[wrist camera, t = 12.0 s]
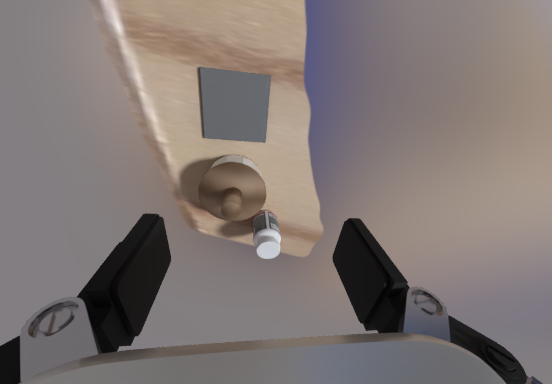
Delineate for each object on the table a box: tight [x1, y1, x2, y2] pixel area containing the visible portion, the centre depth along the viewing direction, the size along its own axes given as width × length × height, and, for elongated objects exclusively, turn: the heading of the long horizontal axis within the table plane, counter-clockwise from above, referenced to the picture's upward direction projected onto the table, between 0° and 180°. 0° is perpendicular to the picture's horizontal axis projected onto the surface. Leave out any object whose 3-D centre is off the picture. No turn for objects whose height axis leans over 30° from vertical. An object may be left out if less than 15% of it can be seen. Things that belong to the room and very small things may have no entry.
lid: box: [199, 162, 266, 221], centre depth 35 cm, size 12×12×6 cm
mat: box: [200, 67, 271, 143], centre depth 35 cm, size 11×11×1 cm
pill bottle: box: [253, 210, 281, 259], centre depth 44 cm, size 6×6×10 cm
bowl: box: [210, 155, 263, 179], centre depth 40 cm, size 11×11×5 cm
